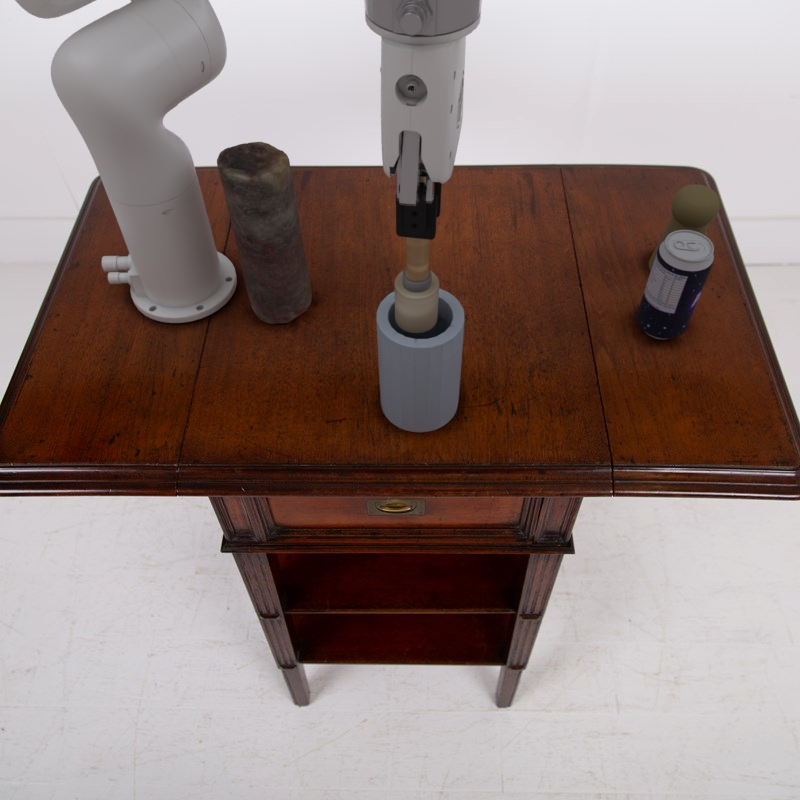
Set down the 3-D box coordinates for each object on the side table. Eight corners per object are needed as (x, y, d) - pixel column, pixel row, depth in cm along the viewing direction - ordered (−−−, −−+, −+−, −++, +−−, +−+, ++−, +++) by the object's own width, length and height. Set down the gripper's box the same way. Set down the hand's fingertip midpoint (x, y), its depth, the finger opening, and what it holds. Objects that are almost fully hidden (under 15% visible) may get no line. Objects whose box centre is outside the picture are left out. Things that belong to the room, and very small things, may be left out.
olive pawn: (645, 277, 92) (669, 203, 84) (651, 246, 96) (675, 172, 87) (696, 288, 91) (726, 213, 82) (700, 256, 95) (729, 182, 86)
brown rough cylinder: (244, 290, 92) (209, 144, 76) (302, 275, 93) (280, 128, 78) (259, 332, 87) (225, 186, 72) (320, 316, 89) (300, 169, 73)
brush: (434, 335, 70) (441, 185, 57) (391, 330, 70) (389, 180, 57) (440, 305, 72) (448, 154, 59) (398, 300, 73) (397, 149, 60)
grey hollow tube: (380, 433, 78) (376, 348, 68) (381, 373, 83) (376, 285, 73) (460, 431, 78) (467, 346, 68) (455, 371, 83) (461, 284, 73)
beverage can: (685, 347, 85) (719, 266, 76) (634, 340, 86) (661, 259, 76) (684, 312, 89) (716, 230, 79) (634, 305, 89) (660, 224, 80)
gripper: (468, 61, 43) (452, 296, 57) (492, -54, 53) (473, 172, 67) (339, 51, 44) (355, 286, 58) (386, -61, 53) (389, 164, 68)
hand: (418, 223), depth 62 cm, fingers closed on brush, 2 cm apart
